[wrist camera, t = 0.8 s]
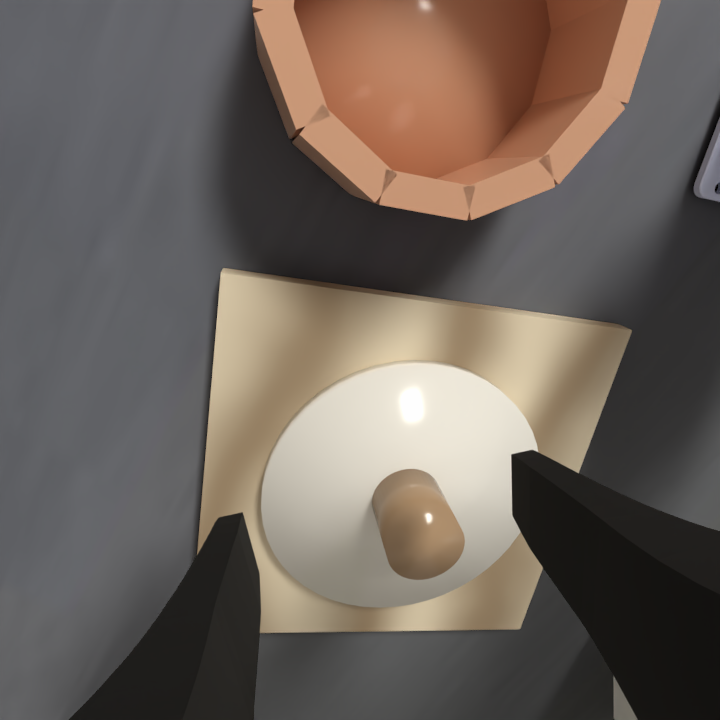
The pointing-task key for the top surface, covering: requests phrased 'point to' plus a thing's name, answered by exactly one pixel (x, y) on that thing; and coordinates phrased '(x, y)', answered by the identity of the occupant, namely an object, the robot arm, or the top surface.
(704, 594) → the robot arm
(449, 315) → the board
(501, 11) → the bowl
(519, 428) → the lid
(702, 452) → the top surface
